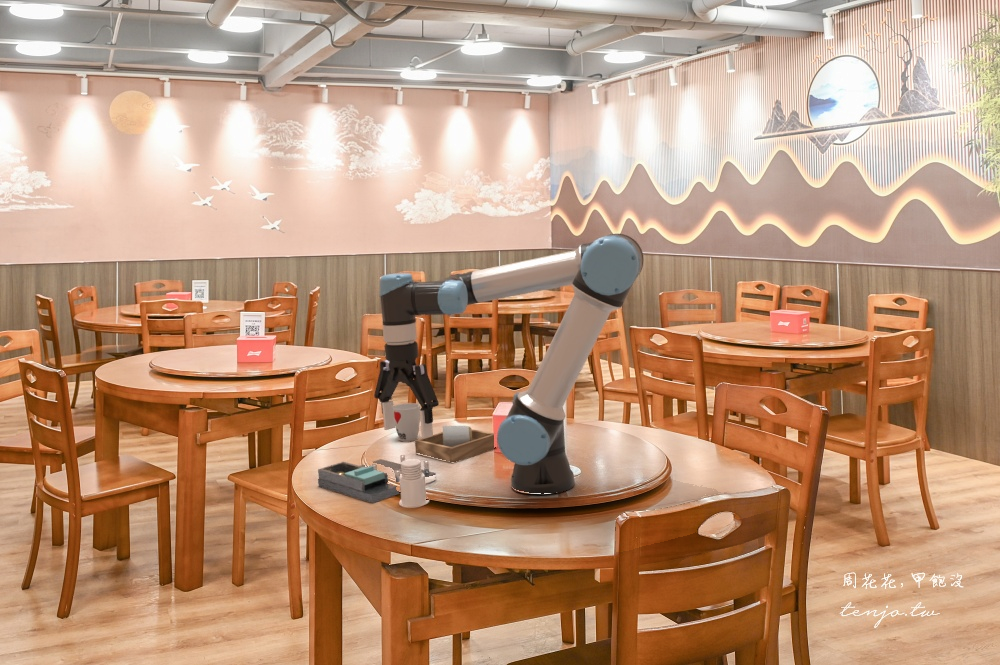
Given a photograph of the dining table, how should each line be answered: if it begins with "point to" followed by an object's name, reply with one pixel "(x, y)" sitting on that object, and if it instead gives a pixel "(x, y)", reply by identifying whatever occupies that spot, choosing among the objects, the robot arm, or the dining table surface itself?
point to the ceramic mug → (456, 435)
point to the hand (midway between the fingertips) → (408, 432)
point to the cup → (407, 421)
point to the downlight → (412, 484)
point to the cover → (366, 474)
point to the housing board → (356, 488)
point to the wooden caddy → (460, 452)
